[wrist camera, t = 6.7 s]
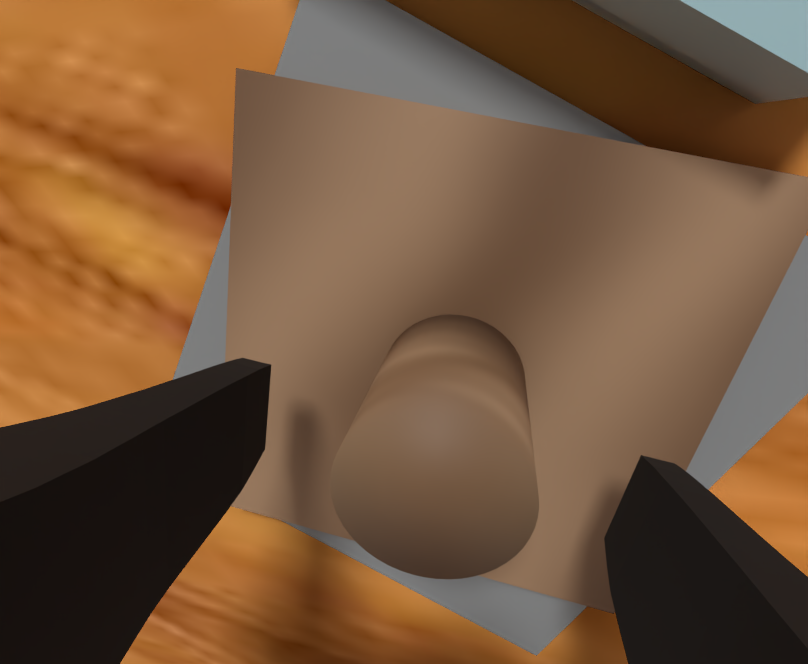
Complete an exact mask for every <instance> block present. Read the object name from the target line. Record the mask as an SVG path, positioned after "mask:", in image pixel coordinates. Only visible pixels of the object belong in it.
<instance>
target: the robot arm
mask: <svg viewBox="0 0 808 664" xmlns="http://www.w3.org/2000/svg"><path fill="white" fill-rule="evenodd" d="M270 377H271V364H267V363H262V362H258V361H254V360H250V359H246V358H239V359H235V360H231V361H228V362H224V363H221V364H218V365H215V366H212V367H209V368H206V369H203V370H200V371H197V372H194V373H192V374H189V375H186V376H183V377H180V378H177V379H174V380H171V381H168V382H165V383H162V384H159V385H156V386H153V387H150V388H147V389H144V390H141V391H138V392H135V393H131V394H128V395H125V396H121V397H118V398H115V399H111V400H108V401H105V402H101V403H98V404H95V405H92V406H88V407H85V408H81V409H77V410H74V411H70V412H66V413H62V414H58V415H54V416H50V417H46V418H41V419H37V420H33V421H28V422H24V423H19V424H15V425H10V426H6V427H1V428H0V664H120V662H121V661H122V659H123V658H124V656H125V654H126V653H127V651H128V650H129V648H130V646H131V645H132V643H133V641H134V640H135V638H136V637H137V635H138V633H139V632H140V630H141V629H142V627H143V625H144V624H145V622H146V621H147V619H148V617H149V616H150V614H151V613H152V611H153V610H154V608H155V607H156V605H157V604H158V603H159V601H160V600H161V598H162V597H163V595H164V594H165V593H166V591H167V590H168V588H169V587H170V586H171V584H172V583H173V582H174V580H175V579H176V578H177V576H178V575H179V574H180V572H181V571H182V570H183V568H184V567H185V566H186V565H187V563H188V562H189V561H190V559H191V558H192V557H193V555H194V554H195V553H196V551H197V550H198V549H199V547H200V546H201V545H202V543H203V542H204V541H205V539H206V538H207V537H208V535H209V534H210V533H211V532H212V530H213V529H214V528H215V526H216V525H217V524H218V522H219V521H220V520H221V518H222V517H223V516H224V514H225V513H226V511H227V510H228V509H229V507H230V506H231V505H232V503H233V502H234V501H235V499H236V498H237V497H238V495H239V494H240V492H241V491H242V489H243V488H244V486H245V484H246V483H247V481H248V479H249V477H250V476H251V474H252V472H253V470H254V469H255V467H256V465H257V463H258V461H259V459H260V458H261V456H262V454H263V452H264V450H265V445H266V431H267V418H268V404H269V391H270ZM604 542H605V552H606V562H607V571H608V578H609V586H610V592H611V597H612V601H613V605H614V609H615V613H616V617H617V621H618V625H619V629H620V633H621V637H622V641H623V645H624V649H625V653H626V656H627V660H628V664H808V577H807V576H806V575H805V574H804V573H802V572H801V571H800V570H799V569H798V568H796V567H795V566H794V565H793V564H792V563H791V562H789V561H788V560H787V559H786V558H785V557H784V556H782V555H781V554H780V553H779V552H778V551H777V550H776V549H774V548H773V547H772V546H771V545H770V544H769V543H768V542H766V541H765V540H764V539H763V538H762V537H761V536H760V535H758V534H757V533H756V532H755V531H754V530H753V529H752V528H751V527H749V526H748V525H747V524H746V523H745V522H744V521H743V520H742V519H740V518H739V517H738V516H737V515H736V514H735V513H734V512H733V511H731V510H730V509H729V508H728V507H727V506H726V505H725V504H724V503H722V502H721V501H720V500H719V499H718V498H717V497H716V496H715V495H713V494H712V493H711V492H710V491H709V490H708V489H706V488H705V487H704V486H703V485H702V484H701V483H700V482H698V481H697V480H696V479H695V478H694V477H692V476H691V475H690V474H689V473H687V472H686V471H685V470H683V469H682V468H681V467H679V466H678V465H677V464H675V463H671V462H667V461H663V460H659V459H655V458H651V457H647V456H643V455H641V456H640V459H639V461H638V463H637V465H636V467H635V470H634V472H633V474H632V476H631V479H630V481H629V483H628V485H627V488H626V490H625V492H624V494H623V497H622V499H621V501H620V503H619V506H618V508H617V510H616V512H615V515H614V517H613V519H612V521H611V524H610V526H609V528H608V530H607V533H606V535H605V537H604Z"/></svg>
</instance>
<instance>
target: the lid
mask: <svg viewBox="0 0 808 664" xmlns="http://www.w3.org/2000/svg"><path fill="white" fill-rule="evenodd" d="M807 231H808V177H804V176H799V175H794V174H789V173H783V172H778V171H773V170H768V169H762V168H757V167H752V166H747V165H741V164H736V163H731V162H726V161H721V160H715V159H710V158H705V157H700V156H694V155H689V154H684V153H679V152H673V151H668V150H663V149H658V148H652V147H647V146H642V145H637V144H631V143H626V142H621V141H616V140H610V139H605V138H600V137H595V136H590V135H584V134H579V133H574V132H569V131H563V130H558V129H553V128H548V127H542V126H537V125H532V124H527V123H521V122H516V121H511V120H506V119H500V118H495V117H490V116H485V115H479V114H474V113H469V112H464V111H459V110H453V109H448V108H443V107H438V106H432V105H427V104H422V103H417V102H411V101H406V100H401V99H396V98H390V97H385V96H380V95H375V94H369V93H364V92H359V91H354V90H349V89H343V88H338V87H333V86H328V85H322V84H317V83H312V82H307V81H301V80H296V79H291V78H286V77H280V76H275V75H270V74H265V73H259V72H254V71H249V70H244V69H238V68H236V86H235V113H234V139H233V166H232V192H231V219H230V246H229V272H228V299H227V325H226V352H225V362H228V361H231V360H235V359H239V358H246V359H250V360H254V361H258V362H262V363H267V364H271V377H270V391H269V404H268V418H267V431H266V445H265V450H264V452H263V454H262V456H261V458H260V459H259V461H258V463H257V465H256V467H255V469H254V470H253V472H252V474H251V476H250V477H249V479H248V481H247V483H246V484H245V486H244V488H243V489H242V491H241V492H240V494H239V495H238V497H237V498H236V499H235V501H234V502H233V503H232V505H231V506H232V507H236V508H239V509H243V510H246V511H250V512H254V513H257V514H261V515H264V516H268V517H271V518H275V519H278V520H282V521H286V522H289V523H293V524H296V525H300V526H303V527H307V528H311V529H314V530H318V531H321V532H325V533H328V534H332V535H335V536H339V537H343V538H346V539H350V540H353V541H356V542H357V543H358V544H359V545H360V546H361V547H362V548H363V549H364V550H366V551H367V552H368V553H369V554H371V555H372V556H374V557H375V558H376V559H378V560H380V561H382V562H383V563H385V564H387V565H389V566H391V567H393V568H395V569H398V570H400V571H403V572H406V573H409V574H412V575H416V576H421V577H426V578H433V579H463V578H468V577H474V576H481V577H485V578H489V579H492V580H496V581H499V582H503V583H506V584H510V585H513V586H517V587H521V588H524V589H528V590H531V591H535V592H538V593H542V594H546V595H549V596H553V597H556V598H560V599H563V600H567V601H570V602H574V603H578V604H581V605H585V606H588V607H592V608H595V609H599V610H602V611H606V612H610V613H613V614H614V612H615V609H614V605H613V601H612V597H611V592H610V586H609V578H608V571H607V562H606V552H605V542H604V537H605V535H606V533H607V530H608V528H609V526H610V524H611V521H612V519H613V517H614V515H615V512H616V510H617V508H618V506H619V503H620V501H621V499H622V497H623V494H624V492H625V490H626V488H627V485H628V483H629V481H630V479H631V476H632V474H633V472H634V470H635V467H636V465H637V463H638V461H639V459H640V456H641V455H643V456H647V457H651V458H655V459H659V460H663V461H667V462H671V463H675V464H677V465H678V466H679V467H681V468H682V469H683V470H685V471H686V470H687V468H688V466H689V464H690V462H691V460H692V458H693V456H694V454H695V452H696V450H697V448H698V446H699V444H700V442H701V440H702V438H703V436H704V434H705V432H706V430H707V429H708V427H709V425H710V423H711V421H712V419H713V417H714V415H715V413H716V411H717V409H718V407H719V405H720V403H721V401H722V399H723V397H724V395H725V393H726V391H727V389H728V387H729V385H730V383H731V381H732V379H733V377H734V375H735V373H736V371H737V369H738V367H739V365H740V363H741V361H742V359H743V357H744V355H745V353H746V351H747V350H748V348H749V346H750V344H751V342H752V340H753V338H754V336H755V334H756V332H757V330H758V328H759V326H760V324H761V322H762V320H763V318H764V316H765V314H766V312H767V310H768V308H769V306H770V304H771V302H772V300H773V298H774V296H775V294H776V292H777V290H778V288H779V286H780V284H781V282H782V280H783V278H784V276H785V274H786V272H787V270H788V269H789V267H790V265H791V263H792V261H793V259H794V257H795V255H796V253H797V251H798V249H799V247H800V245H801V243H802V241H803V239H804V237H805V235H806V233H807Z"/></svg>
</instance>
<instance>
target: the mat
mask: <svg viewBox="0 0 808 664" xmlns="http://www.w3.org/2000/svg"><path fill="white" fill-rule="evenodd" d="M275 76H280V77H286V78H291V79H296V80H301V81H307V82H312V83H317V84H322V85H328V86H333V87H338V88H343V89H349V90H354V91H359V92H364V93H369V94H375V95H380V96H385V97H390V98H396V99H401V100H406V101H411V102H417V103H422V104H427V105H432V106H438V107H443V108H448V109H453V110H459V111H464V112H469V113H474V114H479V115H485V116H490V117H495V118H500V119H506V120H511V121H516V122H521V123H527V124H532V125H537V126H542V127H548V128H553V129H558V130H563V131H569V132H574V133H579V134H584V135H590V136H595V137H600V138H605V139H610V140H616V141H621V142H626V143H631V144H637V145H642V146H645V145H643V144H642V143H640V142H638V141H636V140H634V139H633V138H631V137H629V136H627V135H626V134H624V133H622V132H620V131H618V130H617V129H615V128H613V127H611V126H609V125H608V124H606V123H604V122H602V121H600V120H599V119H597V118H595V117H593V116H591V115H590V114H588V113H586V112H584V111H583V110H581V109H579V108H577V107H575V106H574V105H572V104H570V103H568V102H566V101H565V100H563V99H561V98H559V97H557V96H556V95H554V94H552V93H550V92H549V91H547V90H545V89H543V88H541V87H540V86H538V85H536V84H534V83H532V82H531V81H529V80H527V79H525V78H523V77H522V76H520V75H518V74H516V73H515V72H513V71H511V70H509V69H507V68H506V67H504V66H502V65H500V64H498V63H497V62H495V61H493V60H491V59H489V58H488V57H486V56H484V55H482V54H481V53H479V52H477V51H475V50H473V49H472V48H470V47H468V46H466V45H464V44H463V43H461V42H459V41H457V40H455V39H454V38H452V37H450V36H448V35H446V34H445V33H443V32H441V31H439V30H438V29H436V28H434V27H432V26H430V25H429V24H427V23H425V22H423V21H421V20H420V19H418V18H416V17H414V16H412V15H411V14H409V13H407V12H405V11H404V10H402V9H400V8H398V7H396V6H395V5H393V4H391V3H389V2H387V1H386V0H300V1H299V4H298V7H297V10H296V13H295V16H294V19H293V22H292V25H291V28H290V31H289V34H288V37H287V40H286V43H285V46H284V49H283V52H282V55H281V58H280V61H279V64H278V67H277V70H276V73H275ZM230 219H231V207H230V210H229V213H228V216H227V219H226V222H225V225H224V228H223V231H222V234H221V237H220V240H219V243H218V246H217V249H216V252H215V255H214V258H213V261H212V264H211V267H210V270H209V273H208V276H207V279H206V282H205V285H204V288H203V291H202V294H201V297H200V300H199V303H198V306H197V309H196V312H195V315H194V318H193V321H192V324H191V327H190V330H189V333H188V336H187V339H186V342H185V345H184V348H183V351H182V354H181V357H180V360H179V363H178V366H177V369H176V372H175V375H174V378H173V380H174V379H177V378H180V377H183V376H186V375H189V374H192V373H194V372H197V371H200V370H203V369H206V368H209V367H212V366H215V365H218V364H221V363H224V362H225V352H226V325H227V299H228V272H229V246H230ZM807 393H808V236H806V235H805V237H804V239H803V241H802V243H801V245H800V247H799V249H798V251H797V253H796V255H795V257H794V259H793V261H792V263H791V265H790V267H789V269H788V270H787V272H786V274H785V276H784V278H783V280H782V282H781V284H780V286H779V288H778V290H777V292H776V294H775V296H774V298H773V300H772V302H771V304H770V306H769V308H768V310H767V312H766V314H765V316H764V318H763V320H762V322H761V324H760V326H759V328H758V330H757V332H756V334H755V336H754V338H753V340H752V342H751V344H750V346H749V348H748V350H747V351H746V353H745V355H744V357H743V359H742V361H741V363H740V365H739V367H738V369H737V371H736V373H735V375H734V377H733V379H732V381H731V383H730V385H729V387H728V389H727V391H726V393H725V395H724V397H723V399H722V401H721V403H720V405H719V407H718V409H717V411H716V413H715V415H714V417H713V419H712V421H711V423H710V425H709V427H708V429H707V430H706V432H705V434H704V436H703V438H702V440H701V442H700V444H699V446H698V448H697V450H696V452H695V454H694V456H693V458H692V460H691V462H690V464H689V466H688V468H687V470H686V472H687V473H689V474H690V475H691V476H692V477H694V478H695V479H696V480H697V481H698V482H700V483H701V484H702V485H703V486H704V487H705V488H706V489H709V488H710V487H711V486H712V485H713V484H714V483H715V482H716V481H717V480H718V479H719V478H720V477H722V476H723V475H724V474H725V473H726V472H727V471H728V470H729V469H730V468H731V467H732V466H733V465H734V464H735V463H736V462H737V461H738V460H739V459H740V458H741V457H742V456H743V455H744V454H745V453H746V452H747V451H748V450H749V449H750V448H751V447H753V446H754V445H755V444H756V443H757V442H758V441H759V440H760V439H761V438H762V437H763V436H764V435H765V434H766V433H767V432H768V431H769V430H770V429H771V428H772V427H773V426H774V425H775V424H776V423H777V422H778V421H779V420H780V419H781V418H782V417H784V416H785V415H786V414H787V413H788V412H789V411H790V410H791V409H792V408H793V407H794V406H795V405H796V404H797V403H798V402H799V401H800V400H801V399H802V398H803V397H804V396H805V395H806V394H807ZM281 521H282V520H281ZM283 522H285V523H287V524H289V525H291V526H293V527H294V528H296V529H298V530H300V531H302V532H304V533H306V534H308V535H310V536H311V537H313V538H315V539H317V540H319V541H321V542H323V543H325V544H327V545H328V546H330V547H332V548H334V549H336V550H338V551H340V552H342V553H344V554H345V555H347V556H349V557H351V558H353V559H355V560H357V561H359V562H360V563H362V564H364V565H366V566H368V567H370V568H372V569H374V570H376V571H377V572H379V573H381V574H383V575H385V576H387V577H389V578H391V579H393V580H394V581H396V582H398V583H400V584H402V585H404V586H406V587H408V588H410V589H411V590H413V591H415V592H417V593H419V594H421V595H423V596H425V597H426V598H428V599H430V600H432V601H434V602H436V603H438V604H440V605H442V606H443V607H445V608H447V609H449V610H451V611H453V612H455V613H457V614H459V615H460V616H462V617H464V618H466V619H468V620H470V621H472V622H474V623H476V624H477V625H479V626H481V627H483V628H485V629H487V630H489V631H491V632H492V633H494V634H496V635H498V636H500V637H502V638H504V639H506V640H508V641H509V642H511V643H513V644H515V645H517V646H519V647H521V648H523V649H525V650H526V651H528V652H530V653H532V654H534V655H536V656H537V655H538V654H539V653H540V652H541V651H542V650H543V649H544V648H545V647H546V646H547V645H548V644H549V643H550V642H551V641H552V640H553V639H554V638H555V637H556V636H557V635H558V634H559V633H560V632H561V631H562V630H563V629H565V628H566V627H567V626H568V625H569V624H570V623H571V622H572V621H573V620H574V619H575V618H576V617H577V616H578V615H579V614H580V613H581V612H582V611H583V610H584V609H585V608H586V607H587V606H585V605H581V604H578V603H574V602H570V601H567V600H563V599H560V598H556V597H553V596H549V595H546V594H542V593H538V592H535V591H531V590H528V589H524V588H521V587H517V586H513V585H510V584H506V583H503V582H499V581H496V580H492V579H489V578H485V577H481V576H474V577H468V578H463V579H433V578H426V577H421V576H416V575H412V574H409V573H406V572H403V571H400V570H398V569H395V568H393V567H391V566H389V565H387V564H385V563H383V562H382V561H380V560H378V559H376V558H375V557H374V556H372V555H371V554H369V553H368V552H367V551H366V550H364V549H363V548H362V547H361V546H360V545H359V544H358V543H357V542H356V541H353V540H350V539H346V538H343V537H339V536H335V535H332V534H328V533H325V532H321V531H318V530H314V529H311V528H307V527H303V526H300V525H296V524H293V523H289V522H286V521H283Z"/></svg>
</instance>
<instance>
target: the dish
mask: <svg viewBox="0 0 808 664" xmlns="http://www.w3.org/2000/svg"><path fill="white" fill-rule="evenodd" d="M572 1H574V2H576V3H577V4H579V5H581V6H583V7H584V8H586V9H588V10H590V11H592V12H593V13H595V14H597V15H599V16H600V17H602V18H604V19H606V20H608V21H609V22H611V23H613V24H615V25H616V26H618V27H620V28H622V29H623V30H625V31H627V32H629V33H631V34H632V35H634V36H636V37H638V38H639V39H641V40H643V41H645V42H647V43H648V44H650V45H652V46H654V47H655V48H657V49H659V50H661V51H662V52H664V53H666V54H668V55H670V56H671V57H673V58H675V59H677V60H678V61H680V62H682V63H684V64H686V65H687V66H689V67H691V68H693V69H694V70H696V71H698V72H700V73H702V74H703V75H705V76H707V77H709V78H710V79H712V80H714V81H716V82H717V83H719V84H721V85H723V86H725V87H726V88H728V89H730V90H732V91H733V92H735V93H737V94H739V95H741V96H742V97H744V98H746V99H748V100H749V101H751V102H753V103H755V104H758V103H765V102H773V101H781V100H788V99H796V98H803V97H808V0H572Z"/></svg>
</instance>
